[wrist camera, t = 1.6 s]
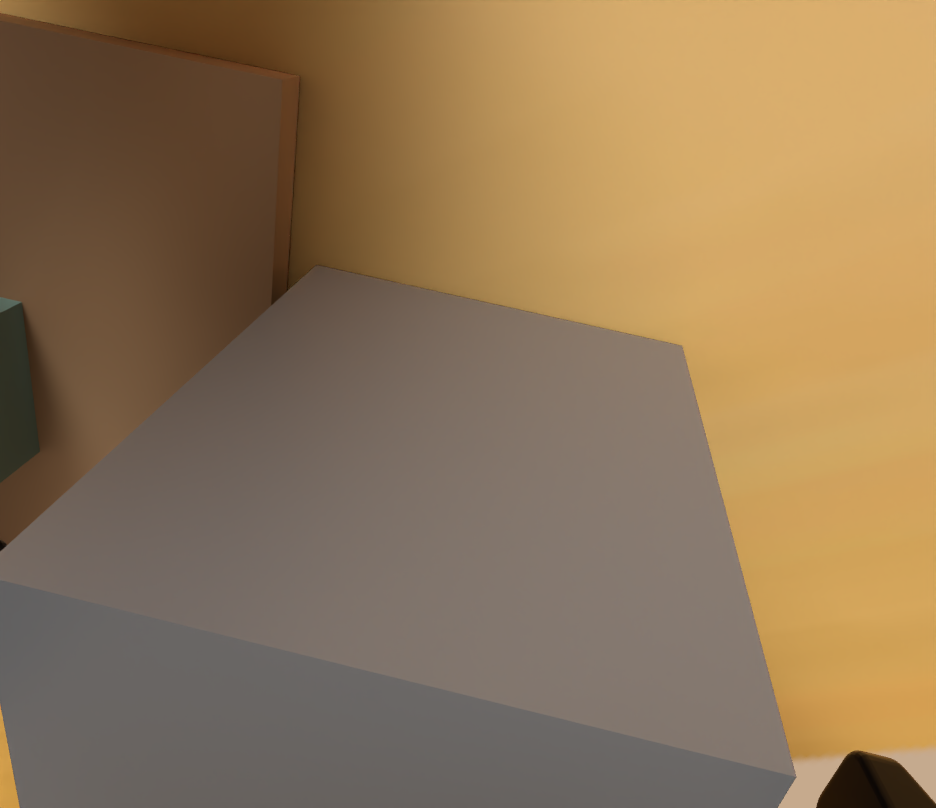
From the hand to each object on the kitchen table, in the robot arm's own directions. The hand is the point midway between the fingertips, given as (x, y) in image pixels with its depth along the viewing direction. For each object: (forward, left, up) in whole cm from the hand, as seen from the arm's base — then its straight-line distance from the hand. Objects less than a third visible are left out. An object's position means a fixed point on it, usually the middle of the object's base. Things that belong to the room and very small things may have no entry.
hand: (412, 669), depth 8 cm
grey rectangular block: (0, 0, -4) cm, 4 cm away
